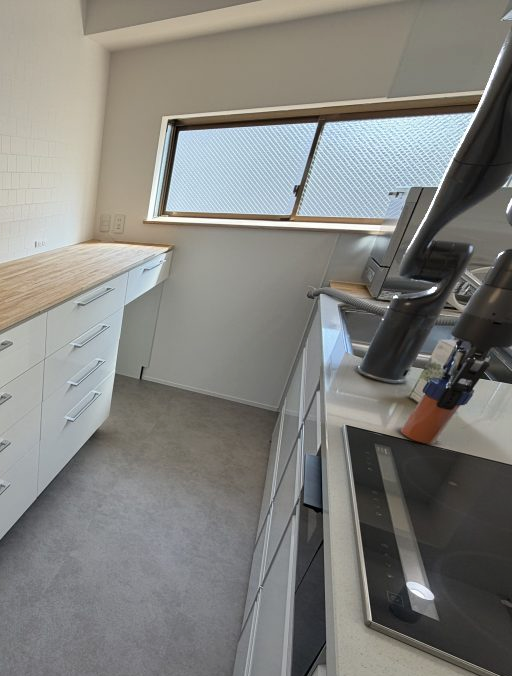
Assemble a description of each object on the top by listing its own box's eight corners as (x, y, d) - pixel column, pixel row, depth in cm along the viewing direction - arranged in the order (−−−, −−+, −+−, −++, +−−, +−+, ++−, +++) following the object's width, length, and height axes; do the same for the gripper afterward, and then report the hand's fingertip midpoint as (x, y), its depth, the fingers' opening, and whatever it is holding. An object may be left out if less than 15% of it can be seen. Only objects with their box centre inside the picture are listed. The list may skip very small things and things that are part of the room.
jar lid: (429, 399, 75) (437, 387, 73) (416, 386, 79) (424, 374, 78) (472, 408, 72) (481, 396, 71) (456, 394, 77) (464, 382, 76)
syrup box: (454, 412, 90) (493, 350, 83) (423, 408, 91) (459, 347, 84) (435, 400, 95) (470, 341, 88) (406, 396, 96) (438, 338, 89)
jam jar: (394, 427, 82) (424, 379, 77) (421, 431, 82) (453, 383, 77) (412, 441, 78) (446, 391, 73) (441, 445, 78) (477, 395, 72)
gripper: (459, 301, 76) (412, 383, 83) (470, 317, 66) (417, 408, 73) (518, 311, 72) (464, 395, 79) (540, 329, 62) (476, 424, 69)
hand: (441, 401), depth 76 cm, fingers closed on jar lid, 6 cm apart
